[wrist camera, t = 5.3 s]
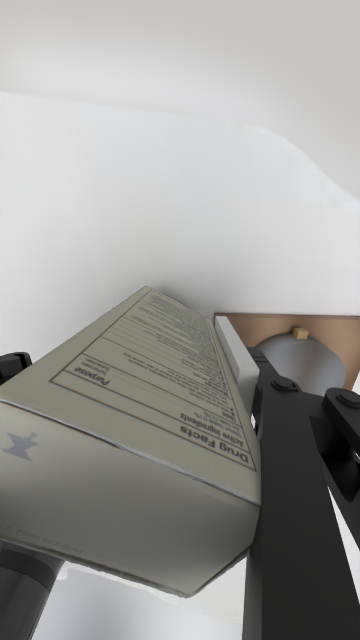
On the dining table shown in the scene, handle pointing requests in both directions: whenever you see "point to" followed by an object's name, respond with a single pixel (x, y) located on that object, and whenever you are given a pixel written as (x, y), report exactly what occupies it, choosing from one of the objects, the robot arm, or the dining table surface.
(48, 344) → the dining table surface
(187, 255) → the dining table surface
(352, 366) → the bayonet base
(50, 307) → the dining table surface
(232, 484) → the skincare box
